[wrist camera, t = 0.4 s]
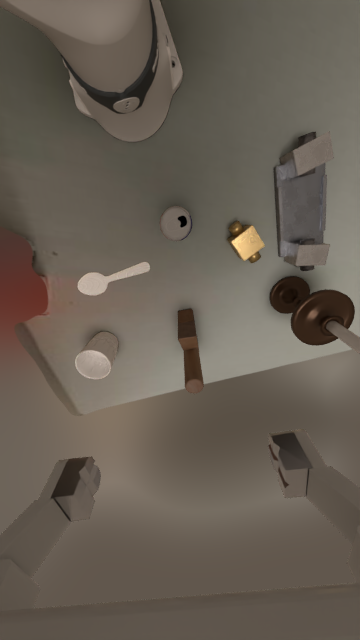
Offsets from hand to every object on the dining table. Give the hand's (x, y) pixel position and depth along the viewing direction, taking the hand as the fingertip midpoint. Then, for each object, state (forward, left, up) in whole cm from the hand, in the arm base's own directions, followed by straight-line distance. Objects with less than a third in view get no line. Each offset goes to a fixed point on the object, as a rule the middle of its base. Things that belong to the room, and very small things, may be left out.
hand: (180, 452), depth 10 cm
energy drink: (-9, +1, -45) cm, 46 cm away
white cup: (+15, -24, -45) cm, 53 cm away
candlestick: (+13, +24, -45) cm, 53 cm away
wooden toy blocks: (+16, -2, -45) cm, 48 cm away
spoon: (-1, -16, -45) cm, 48 cm away
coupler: (-2, +14, -45) cm, 47 cm away
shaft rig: (-5, +26, -45) cm, 52 cm away
